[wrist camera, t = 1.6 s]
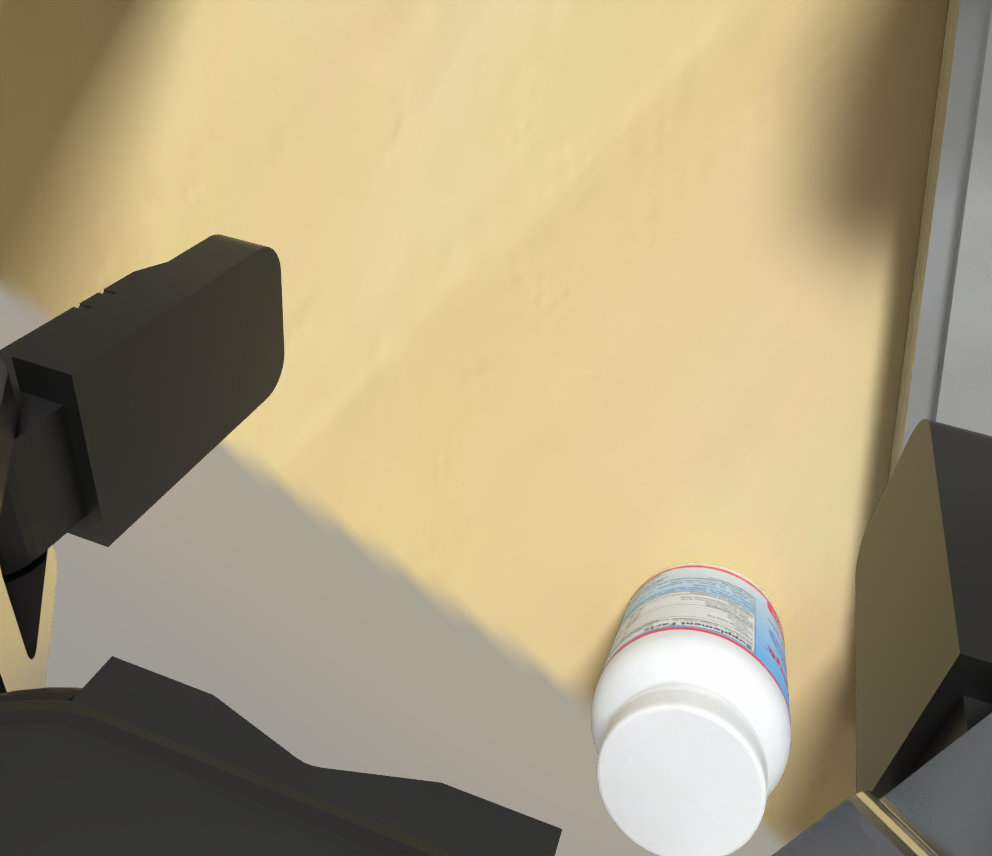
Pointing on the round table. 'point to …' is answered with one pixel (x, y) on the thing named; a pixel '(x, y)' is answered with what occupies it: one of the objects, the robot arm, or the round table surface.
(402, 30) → the round table surface
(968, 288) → the rail
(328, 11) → the round table surface
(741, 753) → the pill bottle
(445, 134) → the round table surface
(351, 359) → the round table surface
